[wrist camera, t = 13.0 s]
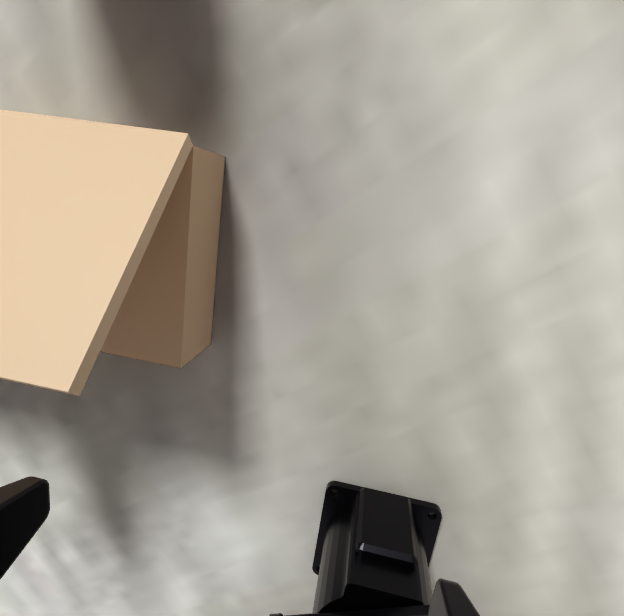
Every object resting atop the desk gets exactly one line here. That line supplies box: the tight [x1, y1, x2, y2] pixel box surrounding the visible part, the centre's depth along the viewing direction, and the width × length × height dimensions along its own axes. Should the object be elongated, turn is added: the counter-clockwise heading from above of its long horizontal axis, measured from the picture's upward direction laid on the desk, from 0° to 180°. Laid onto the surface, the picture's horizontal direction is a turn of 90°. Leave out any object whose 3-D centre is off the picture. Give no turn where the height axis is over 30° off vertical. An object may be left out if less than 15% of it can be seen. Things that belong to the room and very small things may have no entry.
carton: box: [100, 146, 225, 368], centre depth 20 cm, size 10×18×4 cm, turn 82°
